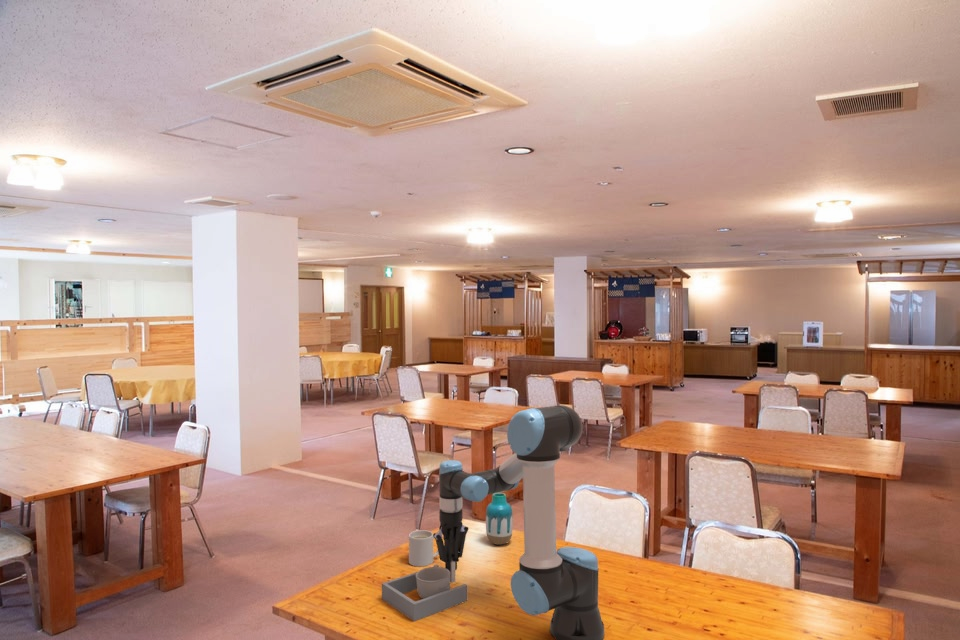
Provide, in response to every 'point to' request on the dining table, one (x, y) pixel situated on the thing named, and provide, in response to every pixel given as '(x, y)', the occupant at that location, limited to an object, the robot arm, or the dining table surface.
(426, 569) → the teacup
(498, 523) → the vase
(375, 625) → the dining table surface
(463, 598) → the box
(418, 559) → the mug
